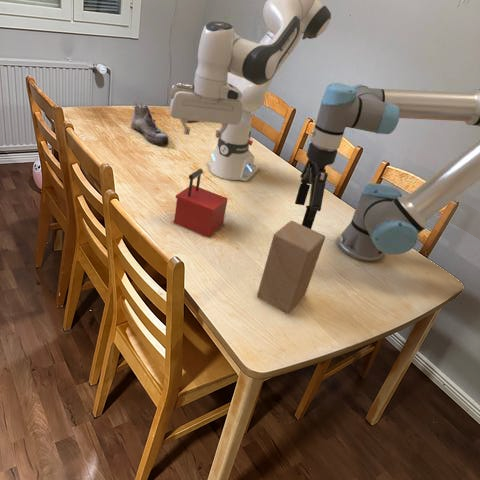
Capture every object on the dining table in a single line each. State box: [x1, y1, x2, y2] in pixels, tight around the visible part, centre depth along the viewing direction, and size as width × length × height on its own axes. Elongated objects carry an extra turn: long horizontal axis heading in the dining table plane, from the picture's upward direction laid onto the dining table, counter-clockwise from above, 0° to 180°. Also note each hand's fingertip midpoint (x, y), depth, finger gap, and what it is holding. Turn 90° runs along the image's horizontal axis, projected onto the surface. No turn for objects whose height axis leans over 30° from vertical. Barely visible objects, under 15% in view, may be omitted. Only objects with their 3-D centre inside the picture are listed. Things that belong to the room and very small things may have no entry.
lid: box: [175, 168, 229, 212], centre depth 135 cm, size 13×10×8 cm
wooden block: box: [256, 220, 326, 314], centre depth 113 cm, size 10×10×20 cm
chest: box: [173, 198, 228, 238], centre depth 139 cm, size 13×10×9 cm
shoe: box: [130, 103, 169, 147], centre depth 193 cm, size 25×11×12 cm, turn 30°
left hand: (202, 135), depth 127 cm, fingers open, 8 cm apart
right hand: (302, 215), depth 126 cm, fingers open, 13 cm apart
